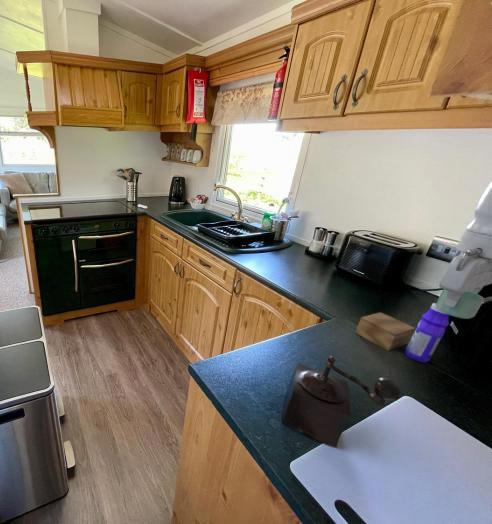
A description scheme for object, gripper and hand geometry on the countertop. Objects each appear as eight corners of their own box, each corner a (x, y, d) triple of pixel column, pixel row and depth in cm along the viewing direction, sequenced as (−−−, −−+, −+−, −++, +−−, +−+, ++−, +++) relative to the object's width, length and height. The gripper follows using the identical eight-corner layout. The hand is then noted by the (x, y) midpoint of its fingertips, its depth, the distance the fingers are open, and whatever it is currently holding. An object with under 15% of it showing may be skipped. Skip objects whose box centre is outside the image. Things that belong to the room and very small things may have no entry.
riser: (407, 343, 93) (415, 328, 91) (388, 350, 89) (395, 334, 87) (374, 326, 102) (380, 312, 99) (355, 332, 97) (361, 317, 95)
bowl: (478, 316, 67) (489, 297, 65) (465, 321, 64) (476, 302, 62) (442, 303, 72) (451, 285, 70) (429, 307, 69) (438, 289, 67)
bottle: (405, 346, 91) (429, 298, 85) (429, 356, 88) (456, 306, 81) (402, 356, 87) (428, 306, 80) (428, 367, 83) (456, 315, 77)
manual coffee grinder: (279, 425, 61) (303, 357, 55) (285, 391, 70) (306, 329, 63) (368, 467, 54) (407, 395, 47) (362, 424, 63) (394, 358, 56)
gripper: (488, 256, 55) (455, 317, 60) (527, 247, 64) (495, 302, 69) (446, 245, 60) (418, 303, 66) (486, 239, 69) (459, 291, 74)
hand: (458, 303), depth 67 cm, fingers closed on bowl, 6 cm apart
